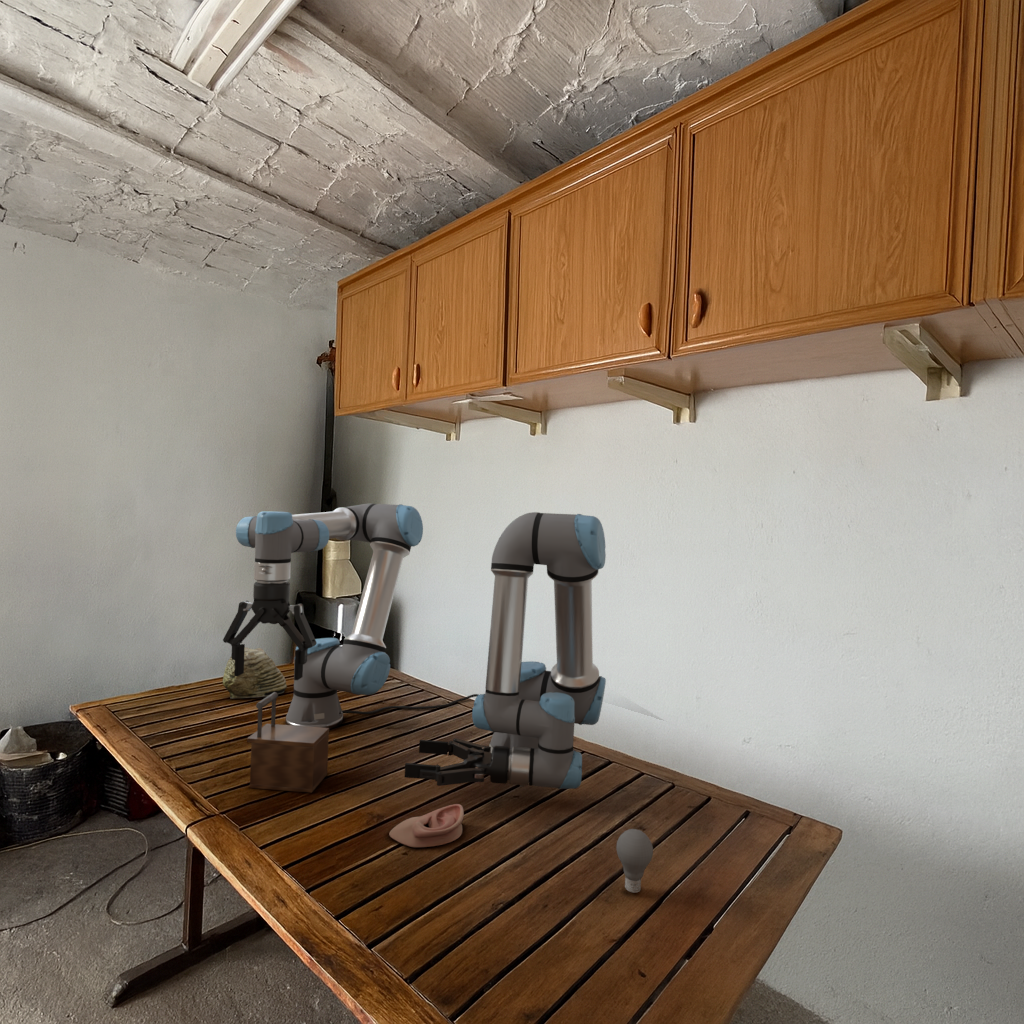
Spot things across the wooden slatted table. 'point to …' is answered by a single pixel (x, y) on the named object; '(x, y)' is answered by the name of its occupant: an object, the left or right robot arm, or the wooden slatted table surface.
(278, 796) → the wooden slatted table surface
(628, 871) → the light bulb
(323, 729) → the lid
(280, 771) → the chest
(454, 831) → the anatomical model
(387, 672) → the left robot arm
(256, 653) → the fossil
